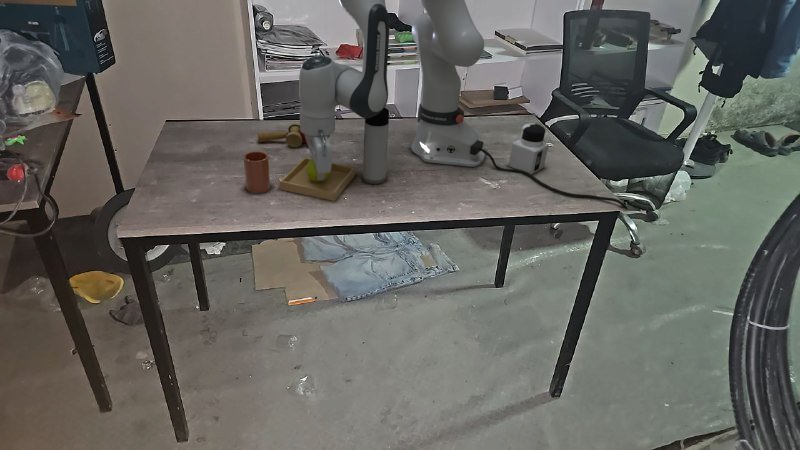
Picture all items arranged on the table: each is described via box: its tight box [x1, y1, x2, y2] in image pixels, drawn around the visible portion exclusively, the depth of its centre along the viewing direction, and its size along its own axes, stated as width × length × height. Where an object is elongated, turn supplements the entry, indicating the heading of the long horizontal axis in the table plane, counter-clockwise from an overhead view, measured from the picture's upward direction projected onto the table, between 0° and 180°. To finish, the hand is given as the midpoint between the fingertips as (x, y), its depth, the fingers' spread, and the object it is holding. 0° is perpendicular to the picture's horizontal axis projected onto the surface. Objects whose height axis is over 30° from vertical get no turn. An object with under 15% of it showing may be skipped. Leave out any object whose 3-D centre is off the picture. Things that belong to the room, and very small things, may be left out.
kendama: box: [257, 122, 307, 148], centre depth 168 cm, size 8×6×18 cm
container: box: [508, 123, 550, 175], centre depth 163 cm, size 8×8×13 cm
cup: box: [243, 150, 271, 194], centre depth 143 cm, size 6×6×9 cm
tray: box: [279, 157, 356, 202], centre depth 150 cm, size 15×15×2 cm
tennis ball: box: [306, 158, 331, 182], centre depth 148 cm, size 6×6×6 cm
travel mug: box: [362, 107, 390, 185], centre depth 149 cm, size 6×7×20 cm
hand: (318, 172), depth 149 cm, fingers closed on tennis ball, 6 cm apart
